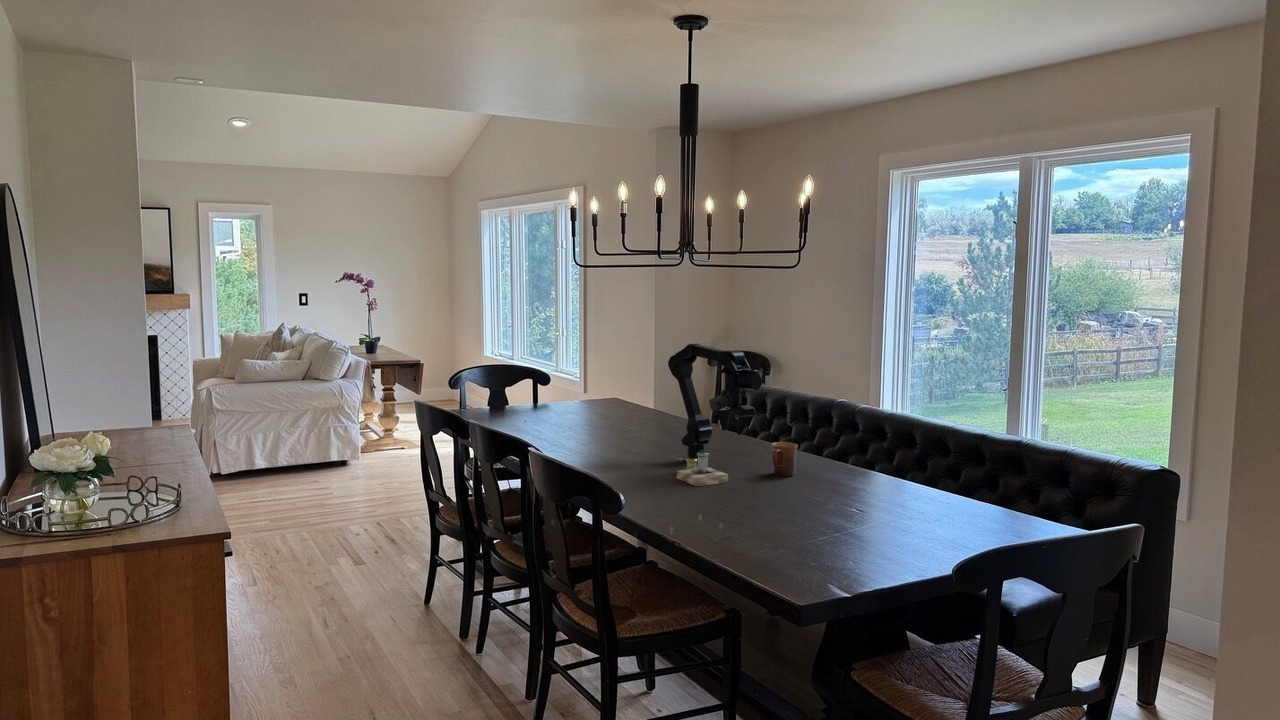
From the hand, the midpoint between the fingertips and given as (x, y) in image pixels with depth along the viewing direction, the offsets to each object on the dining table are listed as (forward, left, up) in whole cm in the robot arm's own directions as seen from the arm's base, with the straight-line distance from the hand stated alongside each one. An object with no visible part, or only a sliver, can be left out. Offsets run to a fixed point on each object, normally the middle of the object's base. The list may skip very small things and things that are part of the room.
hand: (731, 432), depth 299 cm
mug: (+14, +11, -13) cm, 22 cm away
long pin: (+8, -17, -13) cm, 23 cm away
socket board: (+8, -17, -13) cm, 23 cm away
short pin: (-3, -14, -13) cm, 19 cm away
